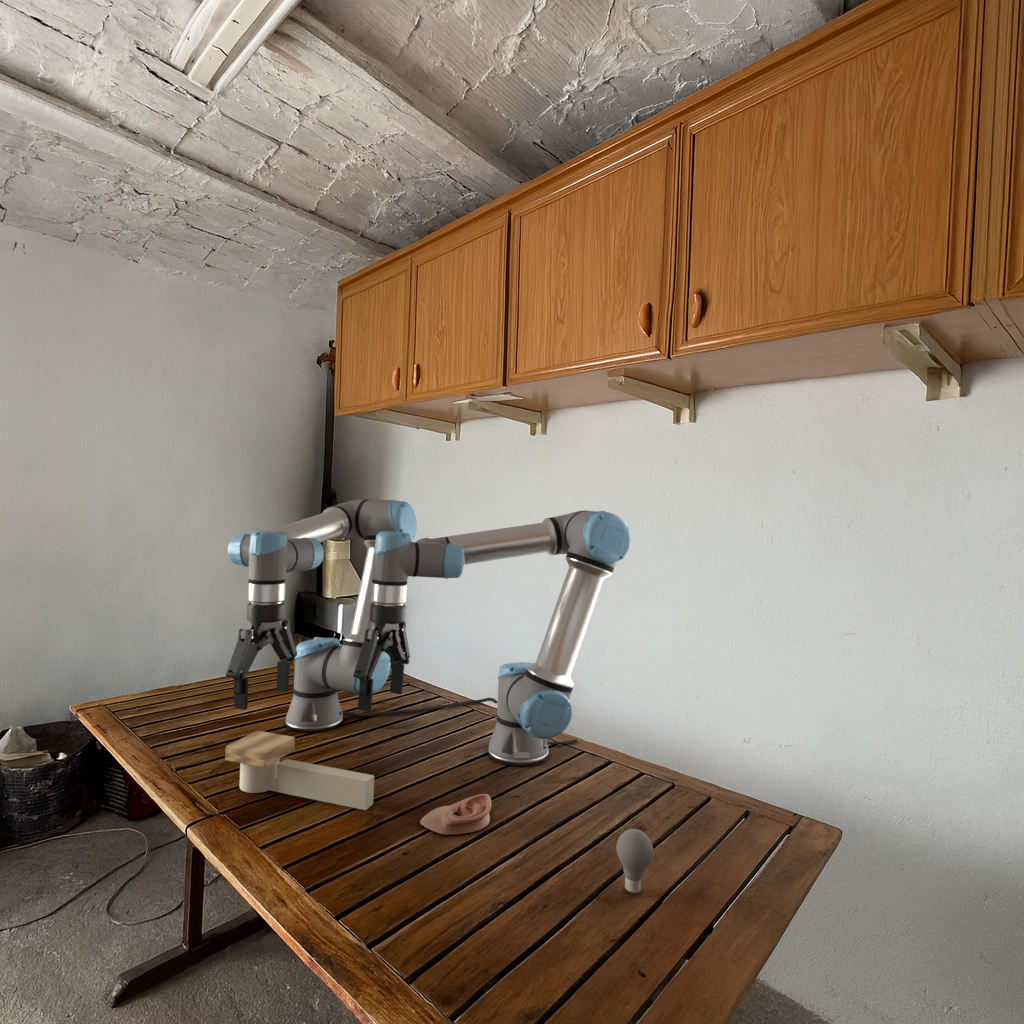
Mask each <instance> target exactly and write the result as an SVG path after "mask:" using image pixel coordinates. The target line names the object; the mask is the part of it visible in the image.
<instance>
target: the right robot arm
mask: <svg viewBox="0 0 1024 1024" xmlns="http://www.w3.org/2000/svg"><path fill="white" fill-rule="evenodd" d="M631 546H632V534H631V530H630V528H629V526H628V524H627V522H626V521H625V520H624V519H623V518H622V517H620V516H619V515H617V514H616V513H612V512H608V511H605V510H598V511H595V510H586V509H585V510H578V511H573V512H569V513H566V514H565V513H564V514H561V515H557V516H556V515H555V516H552V517H551V516H550V517H545V518H544V519H543V520H542V522H537V523H531V524H524V525H517V526H510V527H504V528H496V529H495V528H494V529H489V530H482V531H475V532H468V533H461V534H454V535H448V536H441V537H434V538H429V537H424V538H420V539H417V540H416V541H411V536H410V534H409V533H403V532H390V531H383V532H379V533H378V534H377V536H376V541H375V549H374V559H373V576H372V586H371V590H372V592H371V601H373V602H374V603H372V604H371V605H370V615H369V619H370V621H372V622H374V624H375V625H374V629H373V630H368V629H366V631H365V636H364V642H363V645H362V648H361V651H360V655H359V658H358V661H357V664H356V667H355V671H354V674H353V676H354V677H355V678H359V679H360V683H359V694H358V698H357V699H358V700H357V701H358V702H357V710H359V711H365V712H371V711H372V704H373V703H372V702H373V694H372V691H373V679H371V677H372V674H373V672H374V670H375V667H376V665H377V663H378V660H379V658H380V656H381V653H382V652H383V651H385V652H386V649H387V648H388V650H389V652H390V655H391V657H392V659H393V663H391V670H390V672H391V674H390V684H389V685H390V686H389V687H390V688H389V693H391V694H397V695H402V694H403V690H404V689H403V688H404V687H403V686H404V673H405V665H410V658H411V653H410V648H409V647H410V646H409V641H408V635H407V621H405V618H406V605H405V603H406V602H407V594H408V593H407V592H408V579H409V577H413V578H415V577H416V578H417V577H419V578H434V579H435V578H438V579H445V580H447V579H458V578H461V576H462V574H463V572H464V568H465V566H466V565H471V564H479V563H487V562H492V561H498V560H505V559H510V558H511V559H513V558H519V557H525V556H530V555H531V556H532V555H537V554H538V555H539V554H545V553H546V554H548V555H549V556H557V555H565V560H566V562H567V564H568V569H567V572H566V574H565V578H564V581H563V584H562V586H561V589H560V592H559V595H558V597H557V601H556V603H555V607H554V609H553V611H552V612H553V613H552V615H551V617H550V621H549V624H548V625H547V626H548V627H547V630H546V633H545V635H544V638H543V641H542V644H541V646H540V649H539V652H538V655H537V658H536V661H535V662H525V661H523V662H508V663H503V664H502V665H501V666H500V667H499V670H498V676H497V679H498V684H497V686H498V687H497V702H498V703H497V709H496V724H495V726H494V729H493V732H492V734H491V737H490V741H488V742H489V743H488V750H487V753H488V756H489V757H490V758H491V759H492V760H494V761H495V762H498V763H500V764H504V765H507V766H515V767H529V766H534V765H535V766H536V765H538V764H542V763H543V762H545V761H546V760H548V758H549V745H568V744H573V743H577V742H578V739H577V738H575V739H570V740H564V741H563V740H562V741H561V740H560V741H559V740H558V741H556V740H555V741H548V740H549V739H553V738H555V737H557V736H559V735H561V734H562V733H564V731H565V730H567V728H568V727H569V726H570V723H571V721H572V719H573V718H572V717H573V706H572V703H571V700H570V698H571V696H572V692H573V689H574V685H575V683H574V682H573V680H572V677H571V675H572V671H573V669H574V666H575V663H576V659H577V657H578V655H579V651H580V650H581V649H580V648H581V647H582V643H583V640H584V637H585V635H586V631H587V629H588V625H589V623H590V620H591V617H592V614H593V611H594V608H595V605H596V602H597V599H598V596H599V593H600V591H601V588H602V585H603V582H604V580H605V579H606V578H608V577H610V576H612V575H613V574H614V570H615V567H616V565H617V563H618V562H620V561H622V560H623V559H624V558H625V557H626V556H627V555H628V553H629V552H630V549H631Z"/></svg>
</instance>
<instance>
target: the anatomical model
mask: <svg viewBox="0 0 1024 1024" xmlns="http://www.w3.org/2000/svg"><path fill="white" fill-rule="evenodd" d="M491 809H492V798H491V796H490V795H489V794H488V793H479V794H476V795H472V796H469V797H467V798H463V799H462V800H460V801H457V802H455V803H453V804H450V805H442V806H439V807H437V808H434V809H432V810H430V811H429V812H428V813H426V814H425V815H424V816H423V817H422V818H421V819H420V821H419V823H420V825H421V826H423V827H424V828H426V829H428V830H430V831H432V832H433V833H434V832H435V833H437V834H441V835H446V836H448V835H449V836H450V835H463V834H469V833H473V832H477V831H480V830H483V829H484V828H485V827H487V826H488V825H489V824H490V822H491V815H490V811H491Z"/></svg>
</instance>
